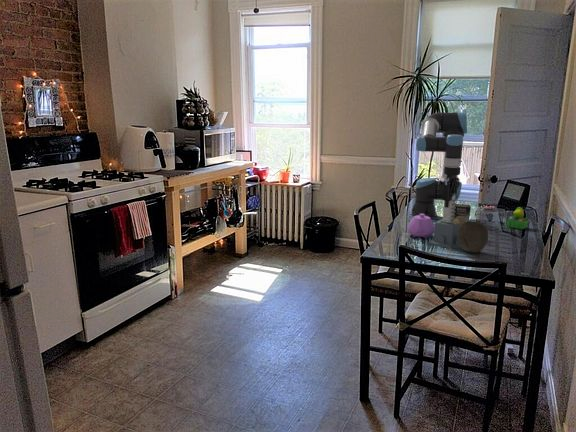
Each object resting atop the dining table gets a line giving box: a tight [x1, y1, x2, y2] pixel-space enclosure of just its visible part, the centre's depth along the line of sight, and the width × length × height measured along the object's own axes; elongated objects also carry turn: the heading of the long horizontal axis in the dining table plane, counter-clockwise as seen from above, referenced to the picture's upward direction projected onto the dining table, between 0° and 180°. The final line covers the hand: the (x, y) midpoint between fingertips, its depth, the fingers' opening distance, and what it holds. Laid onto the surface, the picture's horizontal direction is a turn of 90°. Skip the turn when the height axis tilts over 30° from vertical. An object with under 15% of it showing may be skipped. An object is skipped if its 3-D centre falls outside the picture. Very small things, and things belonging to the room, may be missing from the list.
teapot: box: [407, 214, 435, 239], centre depth 245 cm, size 20×14×12 cm
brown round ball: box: [458, 220, 489, 254], centre depth 220 cm, size 14×14×15 cm
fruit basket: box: [504, 206, 530, 230], centre depth 262 cm, size 11×9×11 cm
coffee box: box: [454, 203, 472, 226], centre depth 249 cm, size 9×6×16 cm
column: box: [442, 193, 457, 224], centre depth 231 cm, size 5×4×21 cm
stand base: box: [427, 218, 460, 250], centre depth 234 cm, size 12×16×13 cm
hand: (448, 212), depth 232 cm, fingers closed on column, 4 cm apart
